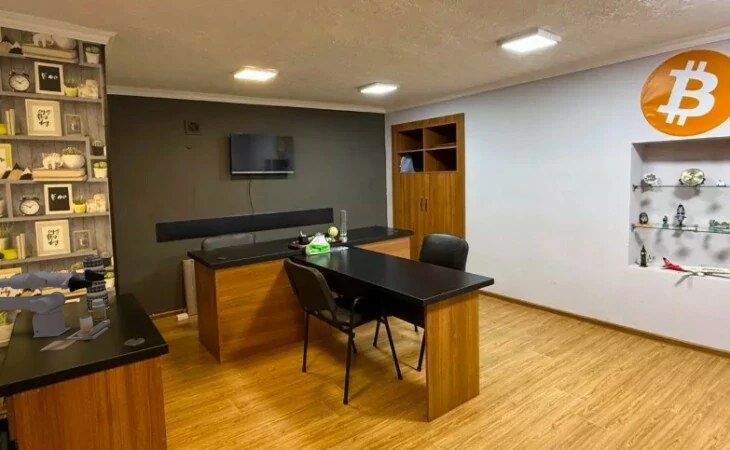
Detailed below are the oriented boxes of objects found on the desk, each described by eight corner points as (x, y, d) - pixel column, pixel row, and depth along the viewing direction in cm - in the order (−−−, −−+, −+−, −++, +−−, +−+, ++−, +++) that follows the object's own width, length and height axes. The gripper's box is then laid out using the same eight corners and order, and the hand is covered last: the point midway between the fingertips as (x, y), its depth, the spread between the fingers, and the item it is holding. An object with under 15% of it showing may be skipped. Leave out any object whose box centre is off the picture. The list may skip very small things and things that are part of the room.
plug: (73, 338, 161) (70, 320, 160) (84, 331, 168) (81, 314, 167) (92, 337, 161) (89, 319, 160) (101, 330, 168) (99, 313, 167)
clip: (81, 338, 157) (80, 331, 157) (104, 322, 172) (103, 317, 172) (89, 337, 157) (88, 331, 157) (111, 322, 173) (111, 316, 172)
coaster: (40, 351, 150) (39, 350, 150) (54, 342, 158) (54, 341, 158) (63, 350, 151) (63, 348, 151) (77, 340, 159) (77, 339, 158)
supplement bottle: (97, 317, 184) (95, 298, 183) (108, 316, 185) (106, 298, 183) (91, 321, 179) (88, 302, 178) (103, 320, 180) (100, 301, 179)
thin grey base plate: (100, 329, 170) (100, 325, 170) (104, 326, 173) (104, 322, 172) (108, 328, 170) (107, 324, 170) (111, 326, 173) (111, 322, 172)
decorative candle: (115, 307, 198) (108, 254, 194) (95, 313, 189) (88, 258, 186) (102, 305, 201) (95, 253, 198) (82, 311, 193) (75, 257, 190)
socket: (66, 340, 159) (66, 338, 159) (82, 330, 169) (81, 328, 169) (93, 338, 160) (93, 336, 160) (108, 329, 170) (107, 327, 170)
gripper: (47, 276, 157) (84, 277, 157) (73, 264, 171) (107, 265, 171) (50, 294, 158) (86, 295, 158) (75, 281, 172) (109, 281, 173)
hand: (97, 280), depth 165 cm, fingers open, 7 cm apart
